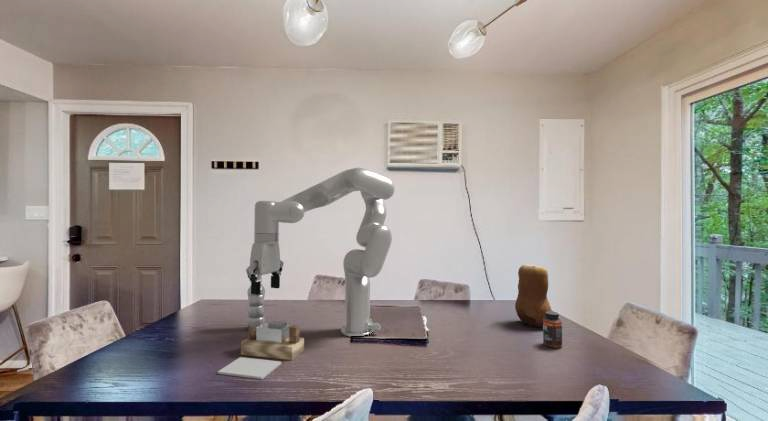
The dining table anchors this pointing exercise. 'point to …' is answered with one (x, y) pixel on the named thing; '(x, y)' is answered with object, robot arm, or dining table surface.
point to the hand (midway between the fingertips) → (265, 290)
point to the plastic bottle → (256, 308)
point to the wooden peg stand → (274, 345)
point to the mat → (250, 368)
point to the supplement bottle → (552, 330)
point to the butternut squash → (532, 294)
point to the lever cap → (273, 332)
